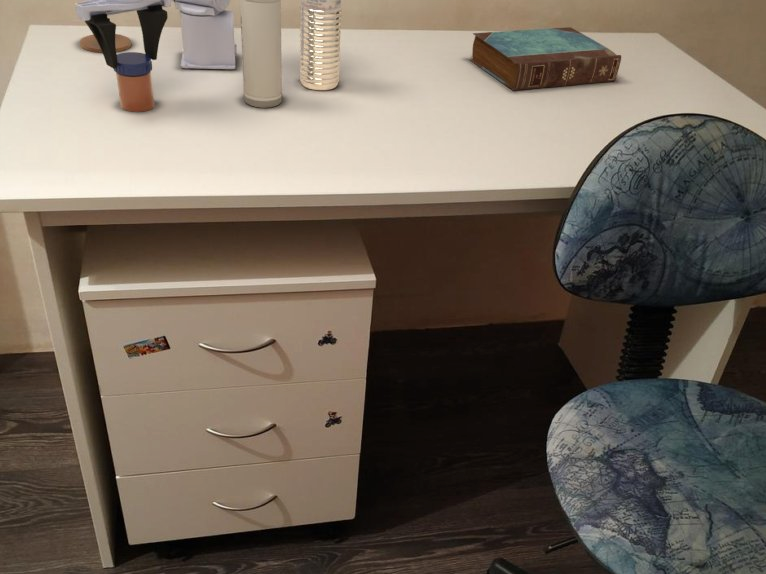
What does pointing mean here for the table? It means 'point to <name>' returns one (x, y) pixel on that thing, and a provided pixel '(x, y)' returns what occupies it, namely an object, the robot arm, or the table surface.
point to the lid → (133, 64)
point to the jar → (135, 92)
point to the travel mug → (261, 52)
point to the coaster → (92, 45)
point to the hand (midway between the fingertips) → (132, 62)
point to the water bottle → (320, 43)
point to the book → (544, 58)
